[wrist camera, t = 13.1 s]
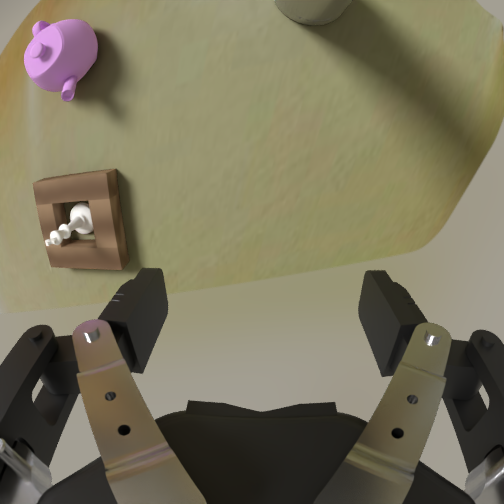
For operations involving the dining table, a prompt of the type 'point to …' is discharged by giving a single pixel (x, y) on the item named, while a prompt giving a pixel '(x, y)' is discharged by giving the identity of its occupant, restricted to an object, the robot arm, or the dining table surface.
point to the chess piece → (73, 224)
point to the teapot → (61, 55)
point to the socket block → (102, 214)
